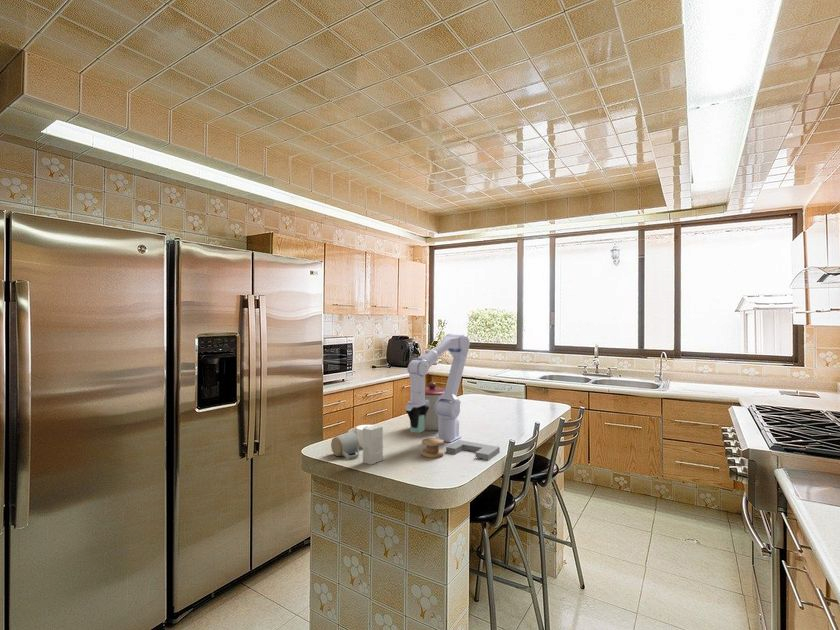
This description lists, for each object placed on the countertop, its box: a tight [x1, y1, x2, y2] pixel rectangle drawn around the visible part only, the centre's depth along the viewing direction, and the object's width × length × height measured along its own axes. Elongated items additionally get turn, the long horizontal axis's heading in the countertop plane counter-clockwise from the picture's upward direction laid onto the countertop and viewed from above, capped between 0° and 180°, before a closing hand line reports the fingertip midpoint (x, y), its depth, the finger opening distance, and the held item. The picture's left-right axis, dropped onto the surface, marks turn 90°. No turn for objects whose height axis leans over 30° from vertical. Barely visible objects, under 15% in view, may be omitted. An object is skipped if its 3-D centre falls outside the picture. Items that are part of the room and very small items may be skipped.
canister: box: [424, 381, 449, 432], centre depth 198 cm, size 18×18×21 cm
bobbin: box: [421, 437, 445, 459], centre depth 160 cm, size 8×8×5 cm
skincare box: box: [362, 424, 384, 465], centre depth 152 cm, size 6×4×12 cm
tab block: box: [409, 414, 425, 434], centre depth 168 cm, size 4×4×6 cm
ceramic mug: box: [330, 431, 360, 460], centre depth 158 cm, size 11×8×8 cm
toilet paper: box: [347, 424, 374, 448], centre depth 171 cm, size 8×11×7 cm
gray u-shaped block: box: [445, 439, 501, 461], centre depth 163 cm, size 11×17×2 cm, turn 59°
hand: (417, 426), depth 168 cm, fingers closed on tab block, 4 cm apart
